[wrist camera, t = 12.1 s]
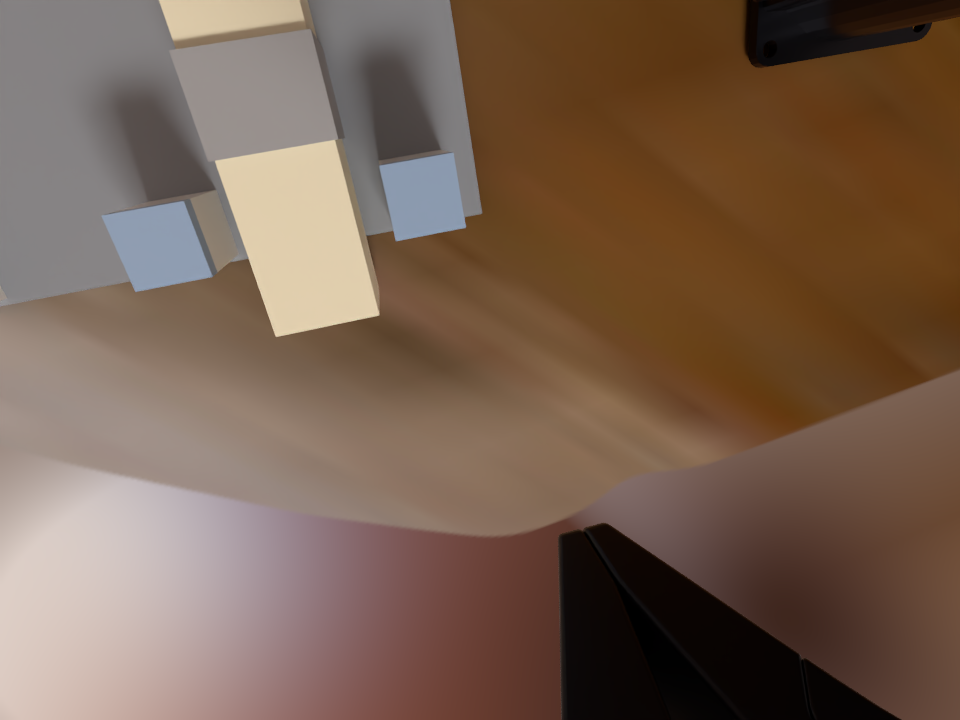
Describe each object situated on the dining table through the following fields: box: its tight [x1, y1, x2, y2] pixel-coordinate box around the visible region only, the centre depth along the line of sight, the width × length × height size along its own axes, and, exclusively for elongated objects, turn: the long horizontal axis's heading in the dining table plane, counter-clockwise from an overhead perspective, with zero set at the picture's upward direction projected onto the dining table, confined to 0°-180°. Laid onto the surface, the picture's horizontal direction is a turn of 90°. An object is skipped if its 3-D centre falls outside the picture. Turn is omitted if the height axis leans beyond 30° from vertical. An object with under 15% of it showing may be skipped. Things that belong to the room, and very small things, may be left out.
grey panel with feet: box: [0, 0, 482, 306], centre depth 14 cm, size 17×11×4 cm, turn 99°
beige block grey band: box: [159, 0, 379, 337], centre depth 14 cm, size 3×12×3 cm, turn 9°
